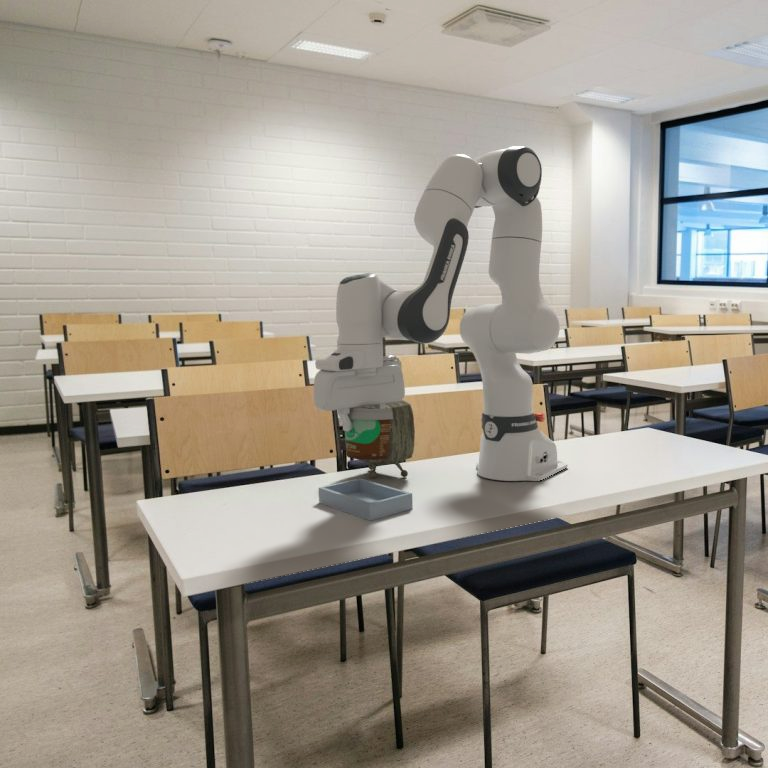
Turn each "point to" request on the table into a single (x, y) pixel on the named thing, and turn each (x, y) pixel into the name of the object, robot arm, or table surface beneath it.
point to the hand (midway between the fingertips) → (362, 428)
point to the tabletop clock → (397, 436)
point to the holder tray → (365, 498)
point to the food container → (368, 433)
